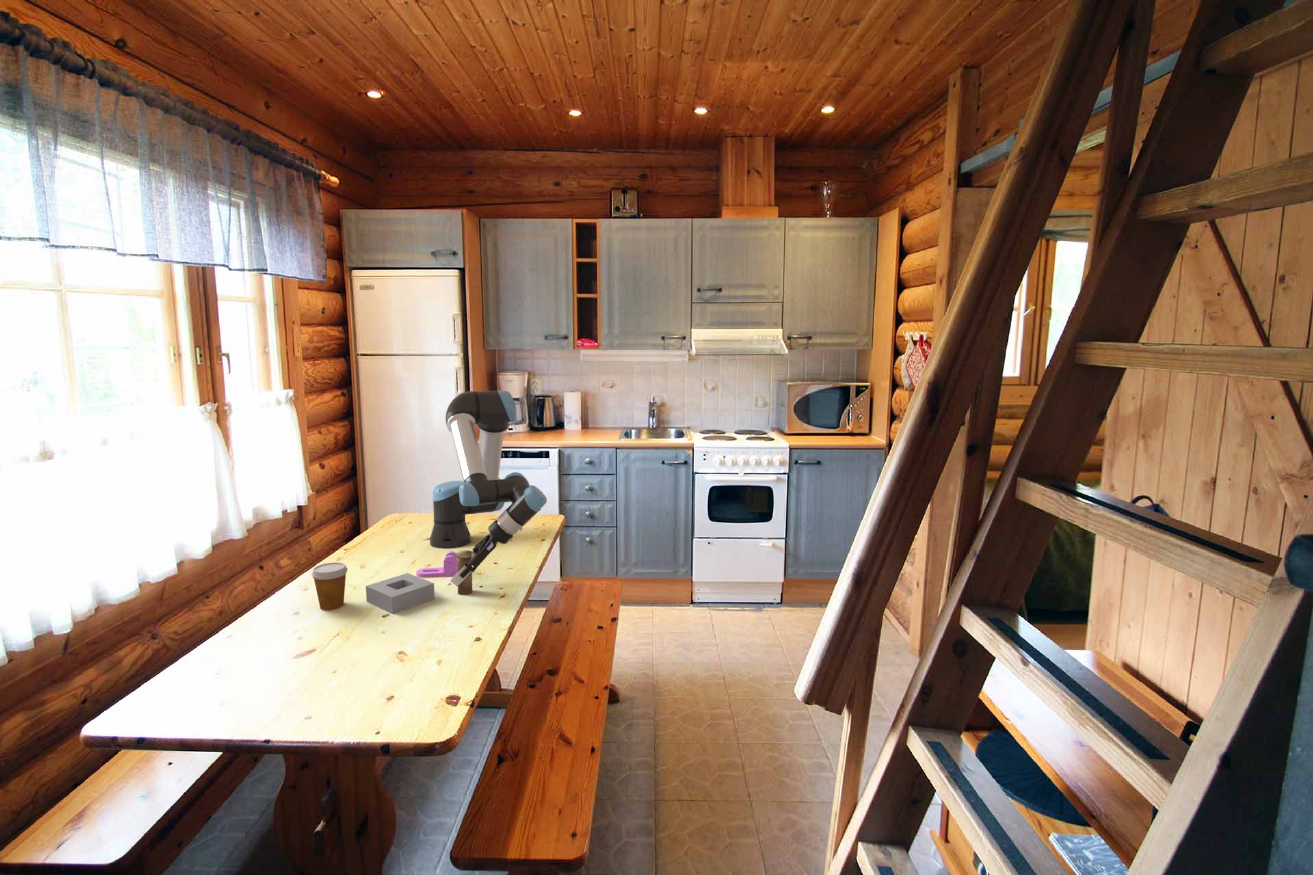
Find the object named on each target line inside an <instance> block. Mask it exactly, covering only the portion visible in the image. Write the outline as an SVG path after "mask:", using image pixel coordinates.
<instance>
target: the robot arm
mask: <svg viewBox="0 0 1313 875" xmlns="http://www.w3.org/2000/svg"><path fill="white" fill-rule="evenodd" d="M516 413H517V412H516V406H515V402H514V397H513V395H512V393H511V392H510V391H508V390H498V389H497V390H481V391H479V390H476V391H475V390H474V391H471V390H470V391H464V392H461V393H460V394H458V395H456V396H455V397H454V398H453V399H452V401H451V402H450V403H449V405H448V407H447V409H446V412H445V425H446V428H447V430H448V432H450V433H451V437H452V441H453V443H454V447H455V452H456V456H457V460H458V464H459V468H460V473H461V477H462V480H451V481H447V482H446V481H445V482H443V483H440V484H438V485H436V486H435V487H434V488H433V491H432V502H433V503H432V505H433V506H432V508H433V527H432V530H431V534H430V537H429V545H430V546H431V547H434V548H438V549H450V548H451V549H452V548H458V547H463V546H466V545H468V544H469V543H470V542H471V540H472V539H471V538H472V537H471V533H470V530H469V527H468V524H467V523H466V516H467V515H473V514H474V515H475V514H483V513H493V512H497V511H500V510H502V509H503V507H504V506H505V503H511V504H510V505H509V506H508V507H507V508H506V509H504V511H502V513H501V514H500V515H499V516H498V517H497V519H495V520H494V521H493V522H492V523H491V524H490V525H489V526H488V530H487V531H488V532H489V533H488V534H487V535H486V536H484V537H483V538H482V539H481V540H480V541H479V542H477V543H476V544H475V545H474V547H473V548H472V550H470V551H471V552H472V556H471V561H470V562H469V563H468V564H467V563H465V564H464V565H465V566H464V567H463V568H462V569H461V570H460V571H459V572H458V573H457V574H456V575H455V576H452V578H451V579H450V580H449V581H450V582H451V583H452V584H453V585H455V586H456V587H458V585H459V584H460V583H461V582H462V581H463V580H464V579H465V578H466V577H467V576H468V575H469V574H470V573H471V572H472V573H475V571H476V570H477V568H478V567H479V566H480V565H481V564H482V563H483V562H484V560H486V558H487V557H488V556H489V555H490V554H491V552H492V551H494V550H495V549H496V547H497V544H498V543H500V544H503V545H506V544H508V543H509V541H511V539H512V538H513V537H514V535H516V534H517V533H518V532H519V531H520V532H521V531H523V527H524V526H525V525H526V524H527V523H528V522H529V521H530V520H531V519H532V518H533V517H535V515H536V514H537V513H538V512H540V511H541V510H542V508H543V507H544V506H545V505H546V504H547V502H548V499H547V498H548V497H546V495H545V494H544V493H543V491H542V490H541V489H539V488H538V487H537V486H535V485H531V484H530V483H529V481H528V479H527V478H526V477H525V476H524V474H522V473H520V472H517V471H516V472H511V473H509V474H507V475H506V476H505V477H504V478H500V476H499V475H500V468H501V460H502V451H503V440H504V434H505V433H504V432H506V431H507V430H508V429H509V427H510V423H512V424H513V423H514V422H515V420H516ZM475 426H476V427H477V429H479V438H478V437H477V434H476V430H475ZM471 565H472V566H471Z"/></svg>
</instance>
